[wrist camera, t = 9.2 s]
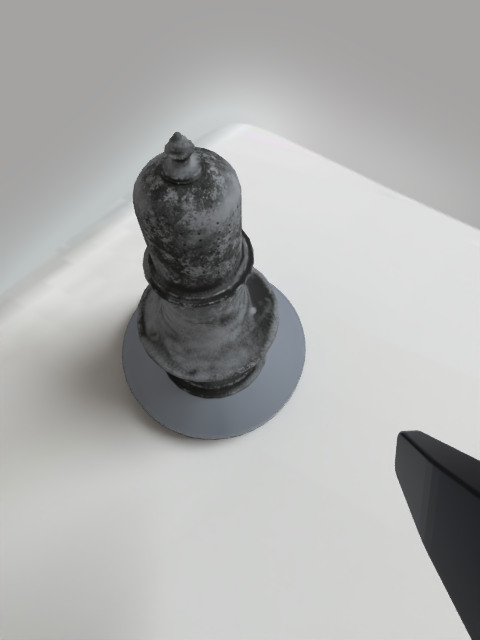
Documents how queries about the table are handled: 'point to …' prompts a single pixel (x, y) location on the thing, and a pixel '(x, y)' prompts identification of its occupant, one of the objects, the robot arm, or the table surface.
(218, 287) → the grey upright turned piece
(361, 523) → the table surface
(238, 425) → the disc
